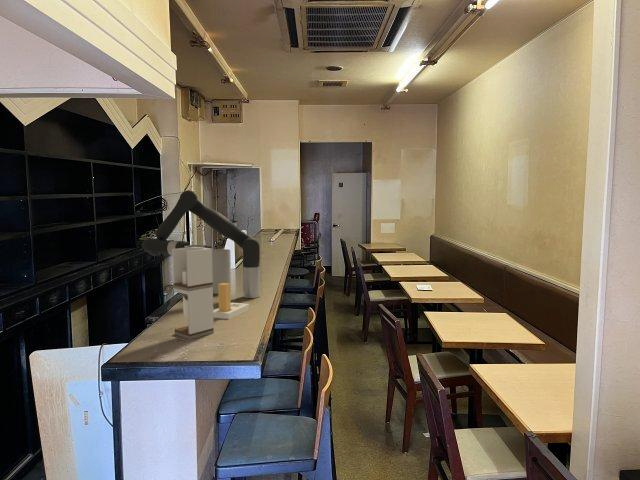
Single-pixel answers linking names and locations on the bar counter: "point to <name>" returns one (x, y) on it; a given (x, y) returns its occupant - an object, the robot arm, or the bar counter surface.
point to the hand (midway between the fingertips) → (206, 249)
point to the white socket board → (231, 311)
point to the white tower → (194, 289)
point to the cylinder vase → (221, 268)
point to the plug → (224, 297)
